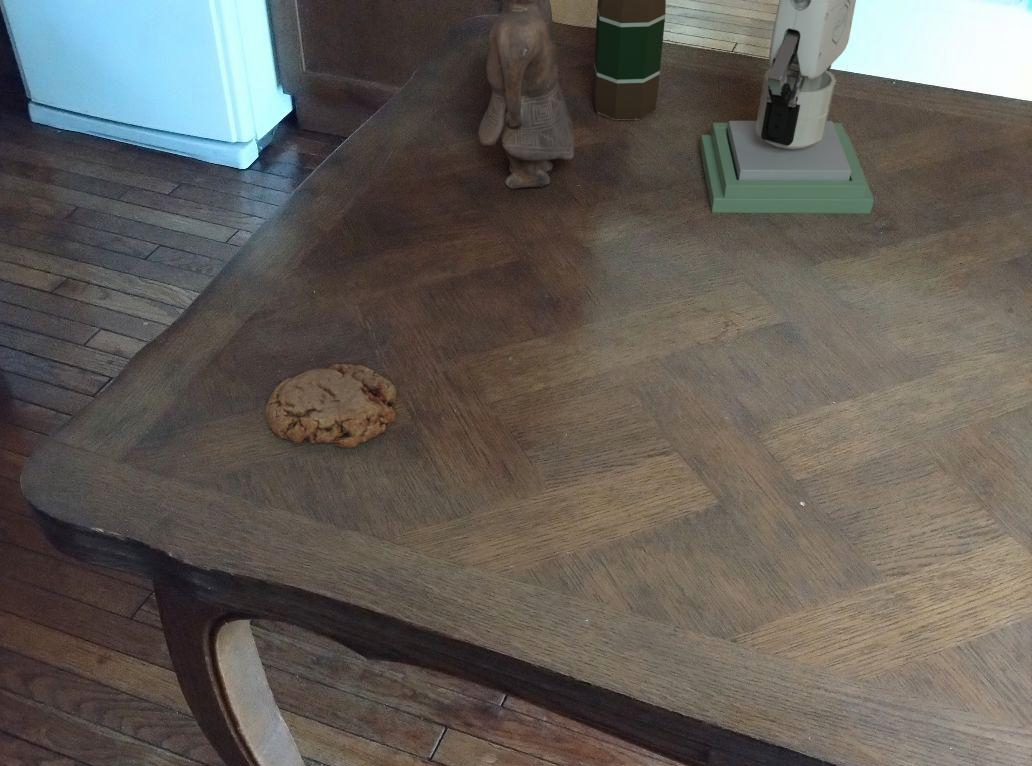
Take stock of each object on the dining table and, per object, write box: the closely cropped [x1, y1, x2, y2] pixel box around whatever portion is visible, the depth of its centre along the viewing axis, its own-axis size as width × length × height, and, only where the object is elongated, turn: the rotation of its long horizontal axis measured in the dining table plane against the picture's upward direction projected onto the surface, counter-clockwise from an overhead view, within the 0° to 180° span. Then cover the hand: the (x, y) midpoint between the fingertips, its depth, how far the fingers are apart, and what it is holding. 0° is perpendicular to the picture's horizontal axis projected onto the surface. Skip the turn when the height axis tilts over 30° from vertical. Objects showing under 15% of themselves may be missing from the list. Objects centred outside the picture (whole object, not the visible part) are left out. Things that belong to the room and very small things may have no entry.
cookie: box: [265, 363, 397, 448], centre depth 86 cm, size 10×11×3 cm
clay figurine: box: [477, 0, 575, 190], centre depth 105 cm, size 13×10×25 cm
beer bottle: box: [592, 0, 667, 122], centre depth 116 cm, size 8×8×24 cm
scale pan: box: [727, 120, 851, 181], centre depth 110 cm, size 11×11×1 cm
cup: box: [756, 64, 837, 149], centre depth 107 cm, size 7×7×6 cm
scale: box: [699, 122, 875, 215], centre depth 112 cm, size 16×14×3 cm
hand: (791, 124), depth 108 cm, fingers closed on cup, 7 cm apart
